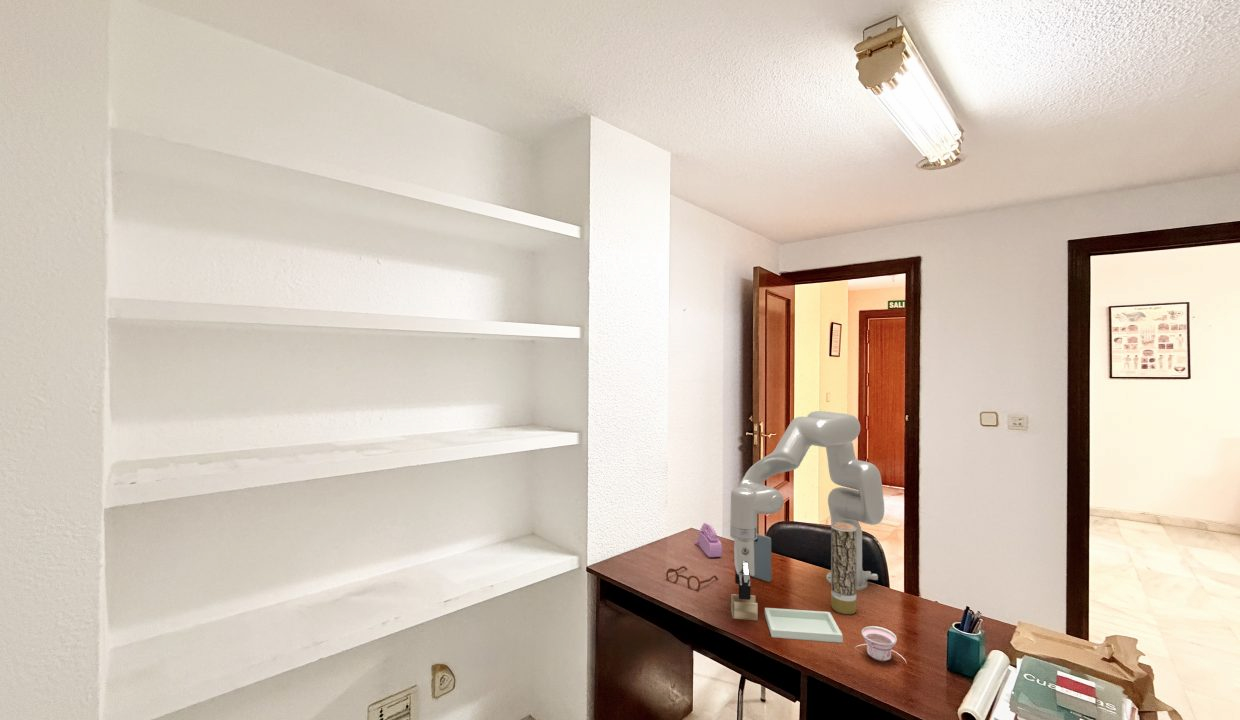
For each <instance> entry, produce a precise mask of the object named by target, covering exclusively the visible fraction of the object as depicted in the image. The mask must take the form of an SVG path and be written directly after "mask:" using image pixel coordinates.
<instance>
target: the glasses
mask: <svg viewBox="0 0 1240 720" xmlns="http://www.w3.org/2000/svg"><path fill="white" fill-rule="evenodd" d="M682 569H684V570H685V571H687V570H688V568H687V567H686V566H685V565H682V566H680V567H678V568H676V569H675V568H671V567H670V568H668V569H667V571H666V573H665V577H666V581H667V582H668V583H671V584H677V583H678V580H679V578H683V579H686V580H687V588H688V589H689V590H692V591H695V592H698V591H699V590H700V589H701V584H705V583H708V582H711V580H713V579H715V580H716V581H718V580H719V578H718V577H717V575H715V574H714V575H712V576H711V577H709V578H708V579H704V580H700V579H699V577H698V576H696V575H690V576H688V577H687V575H686V576H685V575H683V574H679V573H678V572H679V571H680V570H682ZM671 573H675V574H676V578H675V580H674V581H672V580H670V578H669V574H671ZM692 578H693V579H695V580H696V581H697V584H698V585H697V588H696V589H694V588H692V587H691V585H690V580H691V579H692Z"/></svg>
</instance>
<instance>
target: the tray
mask: <svg viewBox="0 0 1240 720" xmlns="http://www.w3.org/2000/svg"><path fill="white" fill-rule="evenodd" d="M764 617H765V620H766V624H767V628H768V630H769V633H770V637H771V638H776V639H778V638H779V639H787V640H788V639H789V640H800V641H801V640H802V641H814V642H822V643H823V642H824V643H837V644H843V642H844V641H843V640H844V637H843V636H844V635H843V633H842V631H841V629H840V628H839V626H838V624H837V622H836V620H835V619H834V617H833V615H832V613H831V612H830V611H821V610H820V611H819V610H807V609H805V610H804V609H803V610H802V609H790V608H777V607H776V608H775V607H764Z"/></svg>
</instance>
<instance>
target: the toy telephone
mask: <svg viewBox="0 0 1240 720" xmlns="http://www.w3.org/2000/svg"><path fill="white" fill-rule="evenodd" d="M697 535H698V537H697V540H696V541H694V544H695V545H699V547H700V549H701V550H702V551H703V553H704V554H705V555H706V556H707V557H708V558H720V557H722V555H723V554H722V553H723V546H722V541H720V539H719V538H718V535H717V532H716V531H715V529H714V528H713V526H712V525H710V524H708V523H703V524H702V525H701V527H700V531H699V532H698V534H697Z"/></svg>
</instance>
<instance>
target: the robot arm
mask: <svg viewBox="0 0 1240 720" xmlns="http://www.w3.org/2000/svg"><path fill="white" fill-rule="evenodd" d="M858 419H859V418H857V417H856V416H854V415H852V414H848V413H840V412H839V413H838V412H831V411H822V410H816V411H811V412H809V414H808V415H807V416H796V417H795V418H793V419H792V420H791V422H790V423H789V425H788V426H787V428H786V430H785V431H784V433H783V435H781V436H782V437H781V438H780V440H779V441H778V443H777V445H776V447H775V449H774V450H773V451H772V452H771V453H770V454H767V455H766V456H764V457H763V458H761V459H759V460H758V461H756V462H755V463H754V464H752V466H750V467H749V469H747V471H746V472H745V474H744V476H743V477H742V479H741V480H740V483H739V485H738V487H735V488H733V489H732V490H731V493H730V520H729V521H730V529H729V531H730V532H729V534H730V538H732V539H733V540H734V541H733V558H734V560H733V561H734V568H735V571H734V572H735V575H734V580H735V582H734V583H735V584H736V585H738V594H739V599H746V600H750V597H751V595H752V594H751V591H752V589H751V577H752V576H754V575H755V570H754V540H756V539H757V534H758V514H763V515H764V514H765V515H769V514H770V515H771V514H772V515H773V514H775V513H778V512H779V511H780V510H781V509H782V508H783V507H784V502H785V499H784V496H783V494H782V493H781V491H779V490H778V489H776V488H774V487H771V486H767V485H765V484H763V483H764V482H765V481H766V480H768V479H769V478H770V477H772V476H775V475H778V474H782V473H786V472H790V471H794V470H796V469H798V468H799V467H800V465H801V464H802V462H803V460H804V458H805V457H806V454H807V453H808V451H809V449H810V447H811V446H815V447H821V448H825V449H826V451H825V452H826V456H827V457H826V458H827V468H828V473H829V477H830V480H831V482H833V484H834V485H837V486H840V487H835V488H833V489H831V490H830V492H829V493H828V497H827V504H828V511H829V514H830V515H829V516H830V523H831V524H832V523H835V522H843V523H849V524H852V525H854V526H856V591H861V590H864V589H866V588H867V587H868V580H871V581H878V580H879V575H878V574H877V573H872V572H871V571H870V570H864V569H863V530H862V526H861V523H864V524H866V525H871V526H872V525H873V526H875V525H878V524H880V523H881V522H882V521H883V519H884V516H885V501H884V500H885V499H884V491H883V484H882V477H881V472H880V470H879V468H878V467H877V465H875V464H873V463H871V462H868V461H865V460H859V459H857V458H856V455H855V447H854V444H853V441H855V440H856V439H857V438H858V437H859V435H860V432H861V424H860V421H859V420H858ZM859 522H860V523H859ZM831 526H832V525H830V527H831ZM750 575H751V576H750ZM825 577H826V581H827V582H828V583H829V584H831V571H830V572H827V574H826V576H825Z"/></svg>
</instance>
